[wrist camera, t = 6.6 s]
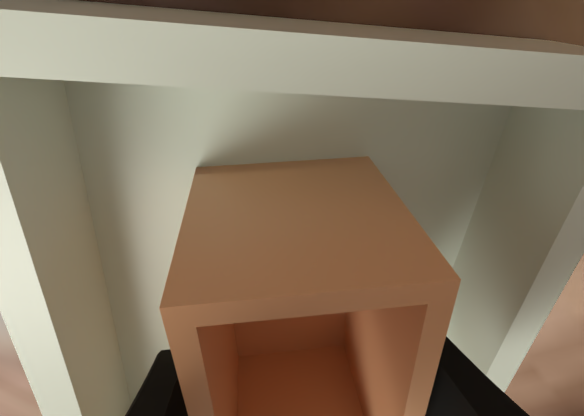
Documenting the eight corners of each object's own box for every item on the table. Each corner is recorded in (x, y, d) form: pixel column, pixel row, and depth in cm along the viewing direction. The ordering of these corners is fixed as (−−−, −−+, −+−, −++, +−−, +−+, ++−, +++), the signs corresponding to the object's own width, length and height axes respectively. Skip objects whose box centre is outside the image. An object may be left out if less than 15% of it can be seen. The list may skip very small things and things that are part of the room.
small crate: (368, 156, 11) (460, 279, 6) (352, 342, 15) (401, 502, 10) (195, 167, 11) (159, 308, 6) (226, 355, 15) (218, 529, 10)
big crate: (549, 40, 11) (691, 63, 7) (414, 391, 19) (453, 482, 15) (15, -6, 9) (-127, -2, 5) (115, 407, 17) (82, 515, 13)
